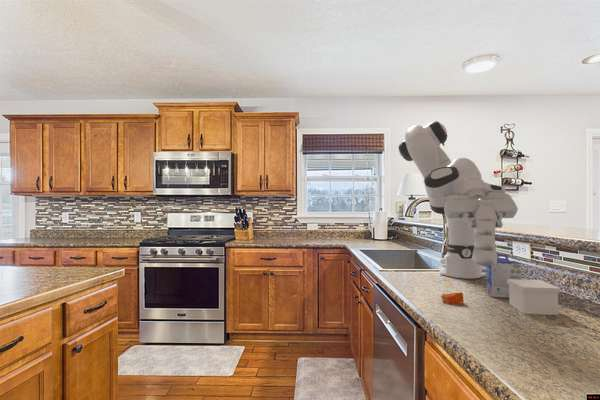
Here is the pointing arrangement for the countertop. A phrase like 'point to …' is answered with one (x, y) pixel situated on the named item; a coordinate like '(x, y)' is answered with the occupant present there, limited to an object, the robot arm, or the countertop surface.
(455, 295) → the rock
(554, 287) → the white square block
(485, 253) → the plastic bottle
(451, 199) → the robot arm
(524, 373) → the countertop surface
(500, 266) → the ink cartridge box
